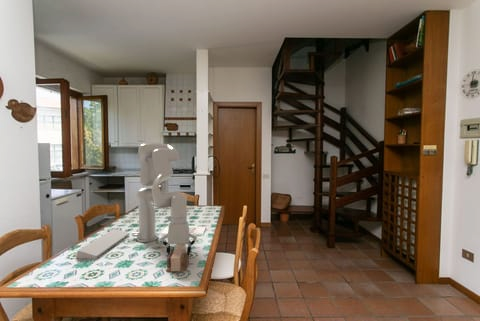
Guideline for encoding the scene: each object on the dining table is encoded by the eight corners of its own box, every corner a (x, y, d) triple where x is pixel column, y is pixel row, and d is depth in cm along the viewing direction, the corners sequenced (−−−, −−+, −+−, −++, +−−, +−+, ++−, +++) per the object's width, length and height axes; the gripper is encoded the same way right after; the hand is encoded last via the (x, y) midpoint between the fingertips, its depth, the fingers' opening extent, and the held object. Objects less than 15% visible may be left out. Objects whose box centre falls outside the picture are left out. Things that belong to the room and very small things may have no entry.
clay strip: (170, 271, 113) (170, 258, 112) (178, 251, 134) (178, 240, 134) (179, 271, 113) (179, 257, 113) (185, 251, 135) (185, 240, 135)
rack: (166, 271, 114) (166, 260, 114) (172, 254, 132) (172, 245, 132) (186, 270, 115) (186, 260, 115) (190, 254, 133) (190, 245, 133)
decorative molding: (127, 240, 161) (112, 235, 161) (129, 233, 160) (114, 228, 161) (94, 264, 127) (75, 259, 127) (96, 256, 126) (77, 250, 127)
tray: (202, 237, 161) (202, 231, 161) (159, 238, 161) (158, 232, 160) (206, 227, 181) (206, 221, 181) (167, 228, 181) (167, 223, 181)
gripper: (159, 222, 118) (159, 258, 119) (196, 221, 120) (196, 256, 121) (162, 218, 126) (162, 251, 126) (197, 217, 127) (197, 250, 128)
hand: (179, 254), depth 124 cm, fingers open, 9 cm apart
